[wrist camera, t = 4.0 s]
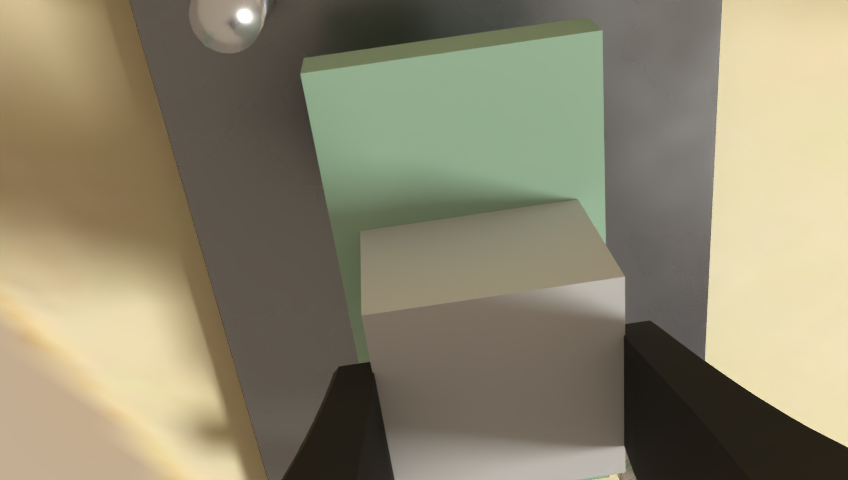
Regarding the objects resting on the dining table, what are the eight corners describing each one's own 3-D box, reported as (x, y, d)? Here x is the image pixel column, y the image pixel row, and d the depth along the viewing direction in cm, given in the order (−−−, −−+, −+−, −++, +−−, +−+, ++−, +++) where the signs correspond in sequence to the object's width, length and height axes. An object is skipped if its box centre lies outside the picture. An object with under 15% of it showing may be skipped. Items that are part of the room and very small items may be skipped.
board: (596, 445, 18) (651, 583, 15) (386, 477, 18) (394, 622, 15) (585, 17, 14) (662, 77, 10) (303, 57, 14) (287, 132, 10)
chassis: (689, 439, 23) (741, 532, 20) (282, 499, 23) (270, 603, 20) (713, -177, 16) (802, -183, 12) (115, -93, 15) (53, -78, 12)
